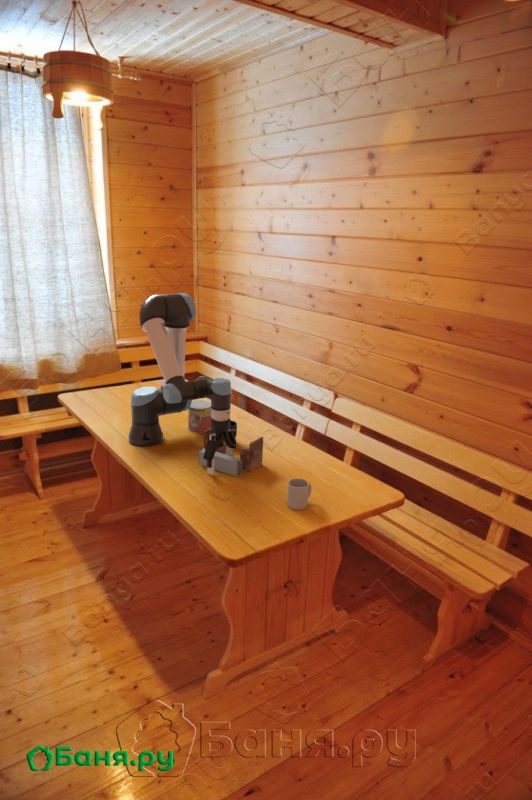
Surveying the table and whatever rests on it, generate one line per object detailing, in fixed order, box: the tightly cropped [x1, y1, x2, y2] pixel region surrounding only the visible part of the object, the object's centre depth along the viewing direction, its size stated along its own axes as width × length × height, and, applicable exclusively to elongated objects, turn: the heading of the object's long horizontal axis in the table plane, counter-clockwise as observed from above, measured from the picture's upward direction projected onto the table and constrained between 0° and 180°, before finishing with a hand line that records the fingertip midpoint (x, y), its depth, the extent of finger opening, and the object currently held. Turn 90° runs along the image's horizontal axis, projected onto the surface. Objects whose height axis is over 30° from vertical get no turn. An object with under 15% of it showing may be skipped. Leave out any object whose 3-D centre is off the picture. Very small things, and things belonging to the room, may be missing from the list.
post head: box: [203, 428, 227, 454], centre depth 239 cm, size 5×9×12 cm, turn 149°
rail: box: [198, 447, 243, 477], centre depth 228 cm, size 19×4×6 cm, turn 59°
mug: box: [226, 419, 238, 447], centre depth 251 cm, size 8×12×10 cm
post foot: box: [239, 436, 264, 473], centre depth 230 cm, size 5×9×12 cm, turn 149°
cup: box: [286, 477, 312, 511], centre depth 203 cm, size 7×10×9 cm
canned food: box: [187, 400, 212, 434], centre depth 268 cm, size 11×11×12 cm
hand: (220, 468), depth 229 cm, fingers open, 12 cm apart
